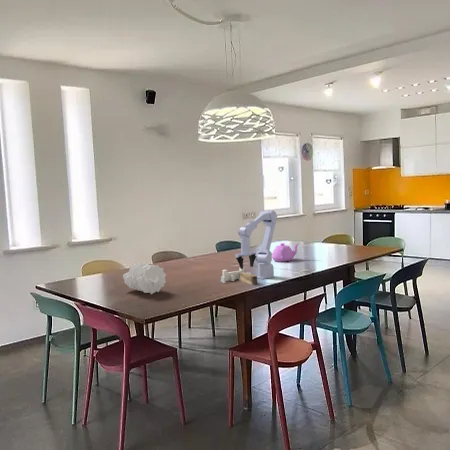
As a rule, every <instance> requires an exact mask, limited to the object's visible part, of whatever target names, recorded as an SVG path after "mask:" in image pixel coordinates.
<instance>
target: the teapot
mask: <svg viewBox="0 0 450 450" xmlns="http://www.w3.org/2000/svg"><path fill="white" fill-rule="evenodd" d="M298 245H299V243H296V244H294V247H293V248H294V249H293V250H292V248H291V247H290V245H287V244H285V243H284V242H281V243H279V245H276V246H275V247H274V249H273V251H272V252H271V253H272V261H274V262H278V263H280V262H286V261H288V262H290V261H292V260H294V257H295V256H297V255H296V254H297V253H298V252H297V251H298V250H297V249H298Z"/></svg>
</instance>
